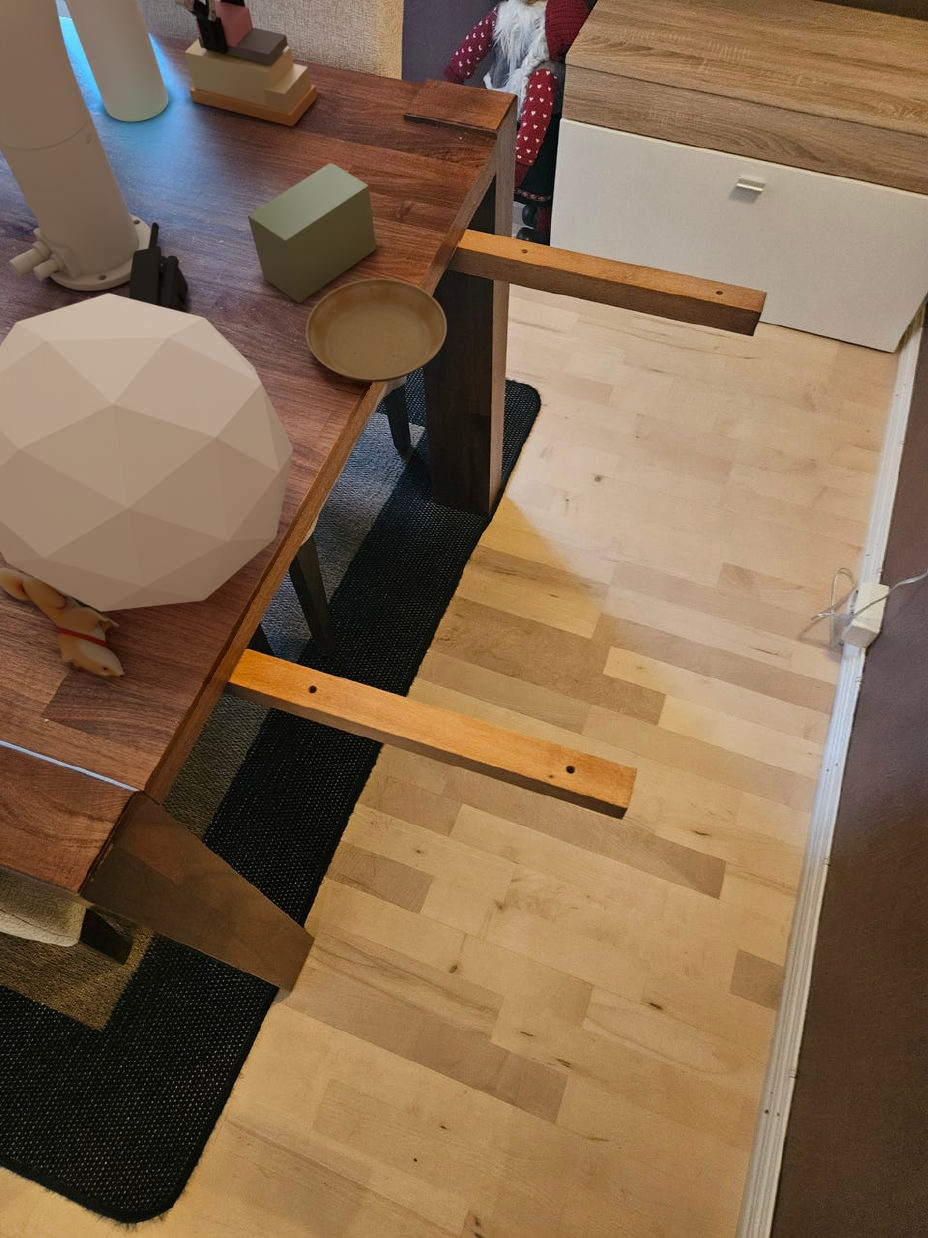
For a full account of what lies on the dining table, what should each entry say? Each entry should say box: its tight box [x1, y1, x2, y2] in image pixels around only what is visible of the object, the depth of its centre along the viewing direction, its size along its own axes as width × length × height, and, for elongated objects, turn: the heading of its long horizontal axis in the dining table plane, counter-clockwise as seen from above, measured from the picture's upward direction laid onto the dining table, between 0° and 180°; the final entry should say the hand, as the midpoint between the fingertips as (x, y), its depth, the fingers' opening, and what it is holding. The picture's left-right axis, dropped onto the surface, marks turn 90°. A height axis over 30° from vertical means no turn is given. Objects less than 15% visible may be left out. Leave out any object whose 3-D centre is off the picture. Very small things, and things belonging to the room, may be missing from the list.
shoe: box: [184, 38, 318, 127], centre depth 109 cm, size 15×7×6 cm, turn 67°
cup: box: [64, 0, 169, 122], centre depth 104 cm, size 8×8×16 cm
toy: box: [0, 567, 125, 679], centre depth 73 cm, size 3×17×5 cm
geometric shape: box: [0, 292, 294, 612], centre depth 67 cm, size 24×25×25 cm
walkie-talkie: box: [128, 221, 189, 313], centre depth 92 cm, size 6×6×20 cm
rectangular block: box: [247, 162, 377, 304], centre depth 93 cm, size 12×6×8 cm, turn 137°
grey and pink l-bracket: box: [194, 0, 289, 64], centre depth 104 cm, size 10×5×3 cm, turn 67°
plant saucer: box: [305, 277, 448, 383], centre depth 89 cm, size 15×15×3 cm
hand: (227, 37), depth 106 cm, fingers closed on grey and pink l-bracket, 4 cm apart
